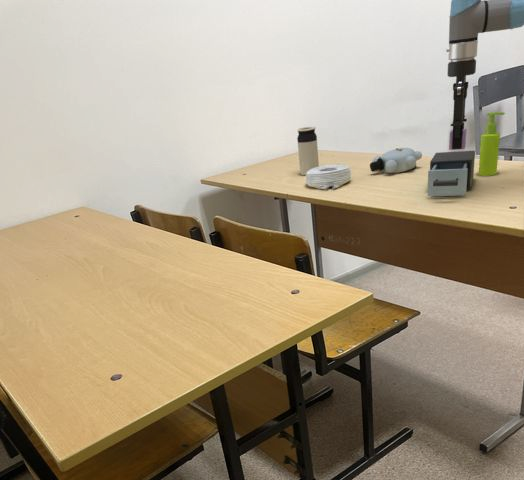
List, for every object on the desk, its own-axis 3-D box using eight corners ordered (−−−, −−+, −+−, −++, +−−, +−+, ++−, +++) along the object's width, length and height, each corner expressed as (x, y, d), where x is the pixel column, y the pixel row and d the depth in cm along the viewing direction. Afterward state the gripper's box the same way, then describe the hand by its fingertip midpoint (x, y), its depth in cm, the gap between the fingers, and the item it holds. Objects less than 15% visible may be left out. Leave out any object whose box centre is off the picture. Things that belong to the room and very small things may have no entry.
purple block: (465, 146, 161) (466, 128, 159) (464, 149, 158) (465, 131, 155) (450, 147, 163) (451, 129, 160) (448, 149, 159) (449, 132, 157)
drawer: (464, 199, 159) (466, 173, 155) (425, 200, 164) (425, 174, 160) (469, 184, 174) (470, 159, 170) (433, 185, 178) (433, 161, 174)
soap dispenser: (497, 175, 182) (503, 113, 173) (476, 175, 186) (480, 114, 176) (501, 171, 186) (506, 110, 177) (480, 172, 190) (485, 111, 180)
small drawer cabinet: (469, 190, 171) (471, 159, 166) (429, 191, 175) (430, 161, 171) (473, 179, 182) (475, 150, 177) (435, 181, 187) (435, 152, 182)
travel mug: (307, 176, 220) (304, 130, 212) (296, 174, 226) (292, 129, 218) (323, 172, 224) (319, 126, 215) (311, 170, 230) (308, 126, 221)
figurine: (407, 161, 218) (363, 175, 216) (405, 140, 214) (360, 154, 212) (430, 168, 203) (383, 183, 201) (428, 145, 199) (380, 160, 197)
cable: (332, 191, 193) (331, 174, 190) (296, 188, 204) (294, 172, 201) (360, 179, 203) (359, 163, 200) (323, 177, 215) (322, 162, 212)
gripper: (450, 59, 157) (447, 142, 168) (445, 63, 143) (441, 153, 155) (477, 56, 154) (472, 141, 165) (474, 60, 140) (469, 152, 152)
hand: (457, 147), depth 160 cm, fingers closed on purple block, 4 cm apart
